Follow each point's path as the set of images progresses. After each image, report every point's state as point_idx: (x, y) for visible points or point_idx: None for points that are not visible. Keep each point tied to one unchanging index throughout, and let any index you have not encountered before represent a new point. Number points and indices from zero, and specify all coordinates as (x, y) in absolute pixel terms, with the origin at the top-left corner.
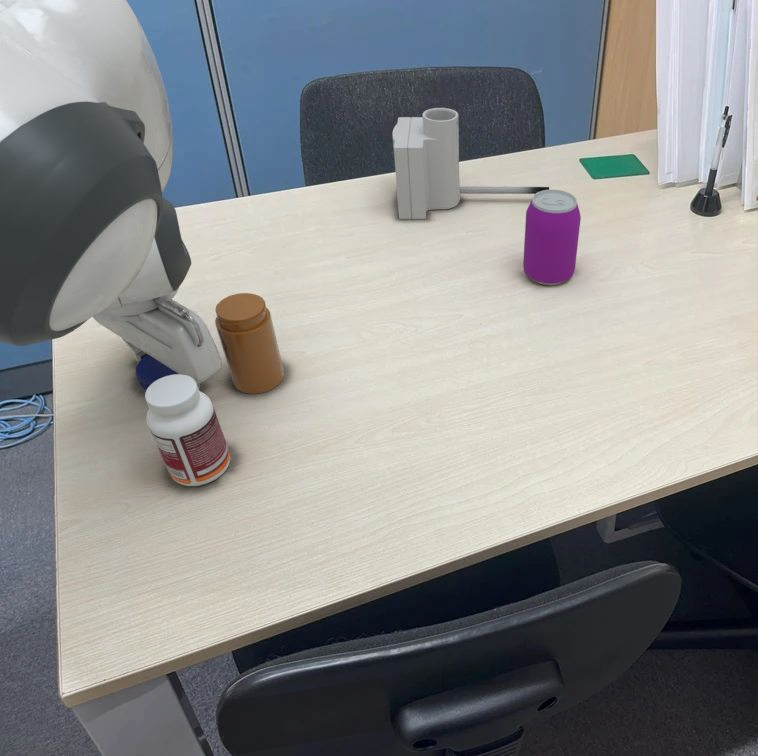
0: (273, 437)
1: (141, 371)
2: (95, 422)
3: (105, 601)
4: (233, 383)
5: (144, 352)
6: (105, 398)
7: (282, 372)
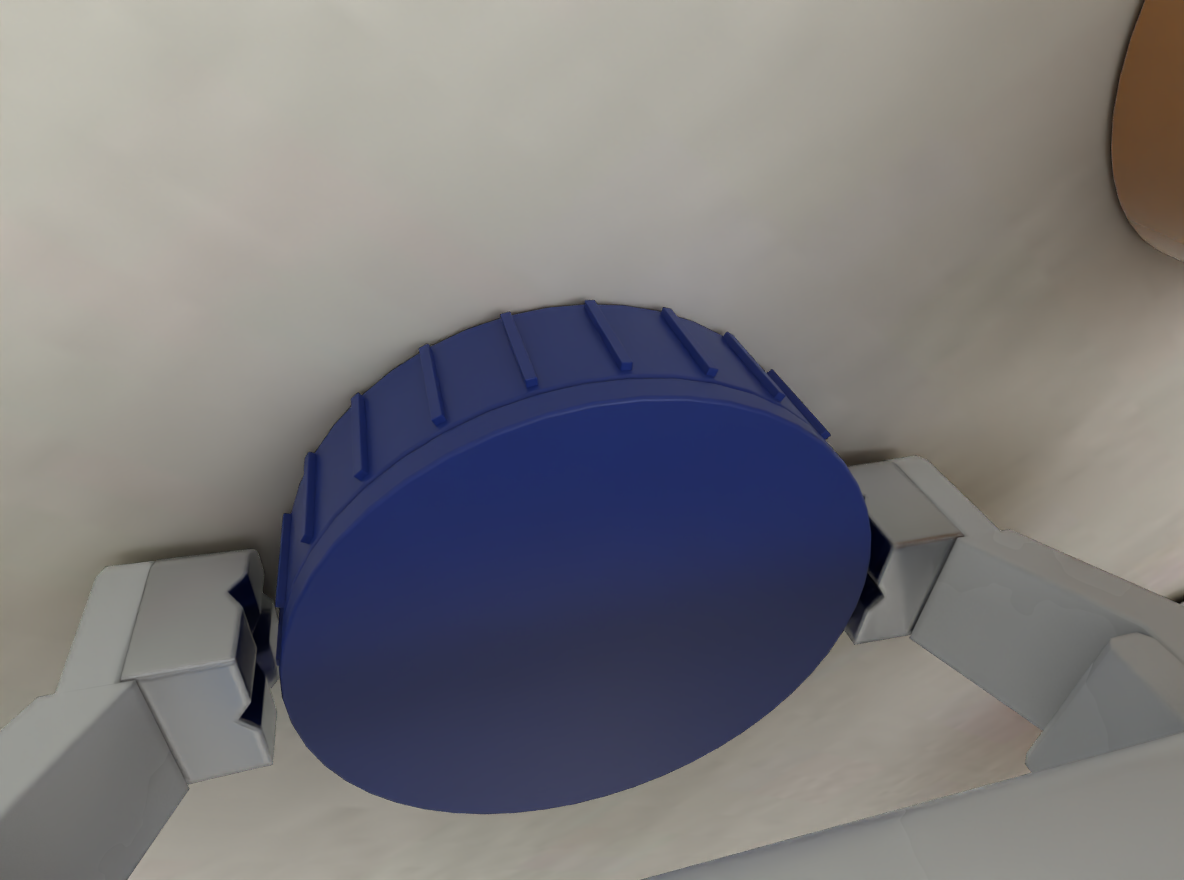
0: None
1: (506, 787)
2: (554, 873)
3: None
4: (1176, 258)
5: (219, 728)
6: (409, 836)
7: None
